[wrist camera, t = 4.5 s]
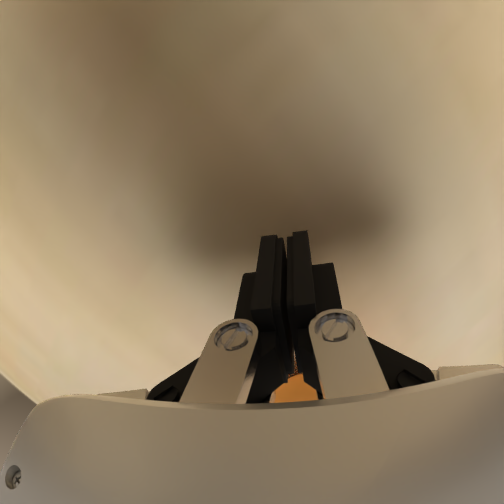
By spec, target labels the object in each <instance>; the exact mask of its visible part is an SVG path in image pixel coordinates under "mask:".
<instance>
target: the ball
mask: <svg viewBox="0 0 504 504" xmlns="http://www.w3.org/2000/svg"><path fill="white" fill-rule="evenodd" d="M275 391H276V398H275V402H274V403H283V402H299V401H311V400H317V396H316V390H315V389H314V388H312V387H311V386H309V385H308V384H307V383H305V382H304V379H303V373H302V374H298V375H295V376H293V377H290V378H288V383H283V384H282V385H281V386H280V387H279V388H277V389H276V390H275Z"/></svg>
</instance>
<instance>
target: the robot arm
mask: <svg viewBox="0 0 504 504" xmlns="http://www.w3.org/2000/svg"><path fill="white" fill-rule="evenodd" d="M294 351H295V356H296V362H297V367H298V373H303V379H304V382H305V383H307V384H308V385H309V386H311V387H312V388H314V389H315V390H316V396H317V400H311V401H299V402H283V403H274V402H275V398H276V391H275V390H276V389H277V388H279V387H280V386H281V385H282V384H283V383H288V374H292V373H294ZM0 504H504V367H502V366H500V365H496V364H488V365H472V366H450V367H439V368H438V370H430V369H429V368H428V367H426V366H425V365H423V364H421V363H419V362H417V361H415V360H413V359H411V358H409V357H407V356H405V355H403V354H401V353H399V352H397V351H395V350H393V349H391V348H389V347H387V346H385V345H383V344H381V343H379V342H378V341H376V340H374V339H372V338H370V337H368V336H367V335H366V333H365V331H364V329H363V326H362V324H361V322H360V320H359V319H358V317H357V316H356V315H355V314H353V313H352V312H350V311H347V310H344V309H342V305H341V300H340V294H339V289H338V284H337V279H336V275H335V270H334V265H333V263H326V264H318V265H312V262H311V254H310V247H309V239H308V232H307V230H306V231H299V232H293V236H291V237H287V257H286V251H285V246H284V240H283V238H278V237H277V235H269V236H262V237H261V243H260V249H259V256H258V262H257V269H256V272H252V273H244V274H243V278H242V282H241V287H240V292H239V297H238V301H237V306H236V311H235V316H234V319H232V320H228V321H225V322H223V323H222V324H220V325H218V326H217V327H216V328H215V329H214V330H213V331H212V333H211V334H210V336H209V338H208V341H207V343H206V345H205V347H204V349H203V351H202V354H201V356H200V357H199V358H197V359H196V360H194V361H193V362H191V363H190V364H188V365H187V366H185V367H184V368H182V369H181V370H179V371H178V372H176V373H175V374H173V375H171V376H170V377H168V378H167V379H165V380H164V381H162V382H161V383H159V384H158V385H156V386H155V387H154V388H153V389H152V390H151V391H149V392H148V390H147V389H139V390H131V391H123V392H114V393H104V394H98V395H89V394H74V395H63V396H59V397H54V398H51V399H48V400H45V401H43V402H41V403H39V404H38V405H37V406H36V407H35V408H34V409H33V410H32V411H31V413H30V414H29V416H28V417H27V419H26V420H25V422H24V424H23V425H22V427H21V429H20V431H19V432H18V434H17V436H16V438H15V440H14V442H13V445H12V447H11V449H10V451H9V453H8V455H7V458H6V460H5V462H4V465H3V468H2V470H1V473H0Z"/></svg>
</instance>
